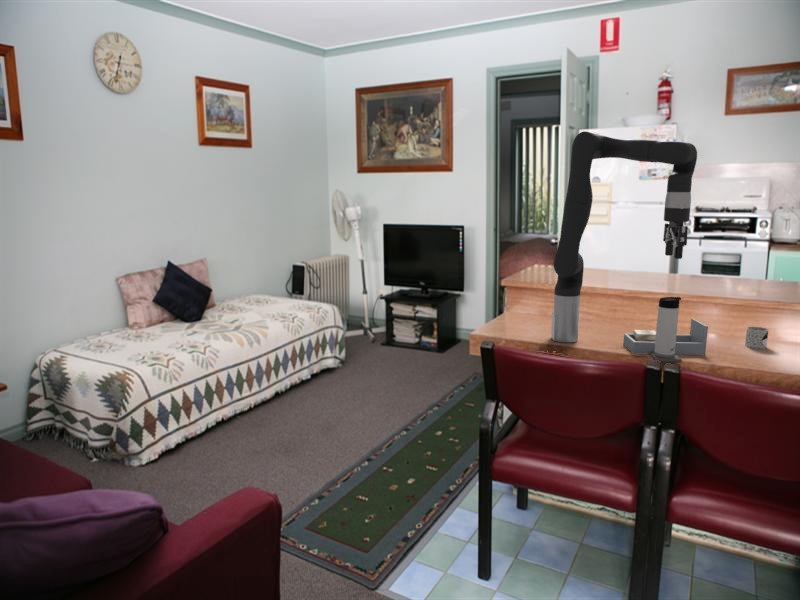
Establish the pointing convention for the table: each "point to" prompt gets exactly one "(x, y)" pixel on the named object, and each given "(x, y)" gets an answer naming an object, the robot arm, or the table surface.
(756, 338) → the notched grey stone block
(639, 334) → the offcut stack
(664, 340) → the travel mug
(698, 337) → the tray
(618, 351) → the table surface
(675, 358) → the mat
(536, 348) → the table surface
